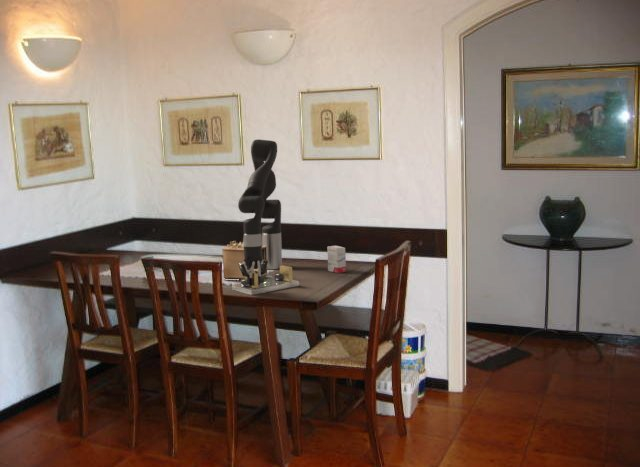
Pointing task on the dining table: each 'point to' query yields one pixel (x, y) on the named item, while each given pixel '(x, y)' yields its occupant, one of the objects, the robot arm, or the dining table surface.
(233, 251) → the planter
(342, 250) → the ink box
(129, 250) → the dining table surface
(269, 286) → the levelling plate
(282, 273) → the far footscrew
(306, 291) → the dining table surface
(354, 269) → the dining table surface
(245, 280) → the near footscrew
